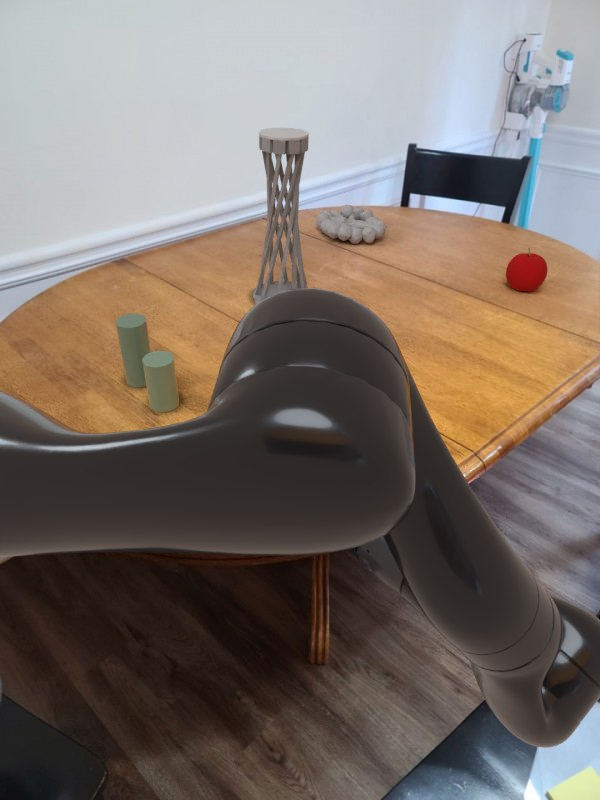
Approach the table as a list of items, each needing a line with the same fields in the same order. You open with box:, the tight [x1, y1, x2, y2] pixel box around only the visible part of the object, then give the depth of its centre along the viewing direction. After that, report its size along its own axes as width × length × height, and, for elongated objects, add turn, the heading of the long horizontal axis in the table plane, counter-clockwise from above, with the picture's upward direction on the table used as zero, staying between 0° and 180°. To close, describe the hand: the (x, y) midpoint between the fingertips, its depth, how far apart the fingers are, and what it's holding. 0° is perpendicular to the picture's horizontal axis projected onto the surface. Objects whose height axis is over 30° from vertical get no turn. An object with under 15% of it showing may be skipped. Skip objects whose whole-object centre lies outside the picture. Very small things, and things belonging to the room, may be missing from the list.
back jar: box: [115, 313, 152, 389], centre depth 98 cm, size 5×5×12 cm
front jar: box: [142, 350, 180, 413], centre depth 93 cm, size 5×5×9 cm
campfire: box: [315, 204, 387, 245], centre depth 164 cm, size 22×21×6 cm
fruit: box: [505, 247, 549, 293], centre depth 135 cm, size 9×9×10 cm
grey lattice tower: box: [252, 127, 310, 305], centre depth 120 cm, size 14×13×35 cm
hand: (285, 445), depth 63 cm, fingers open, 8 cm apart
